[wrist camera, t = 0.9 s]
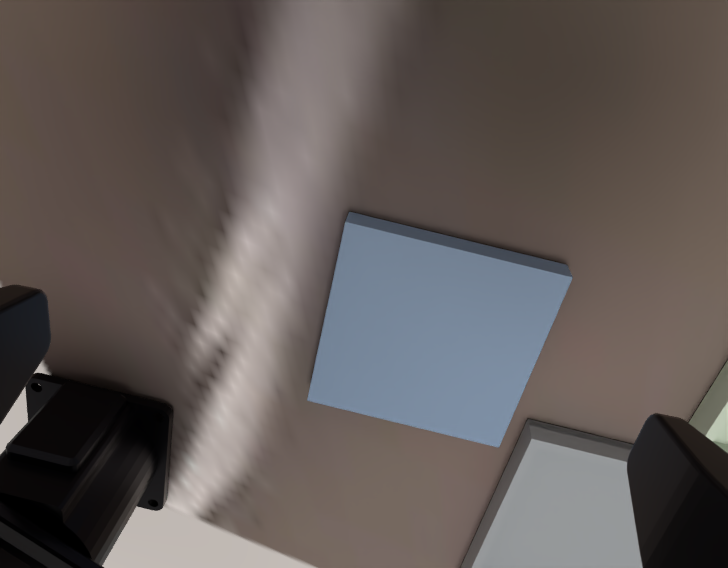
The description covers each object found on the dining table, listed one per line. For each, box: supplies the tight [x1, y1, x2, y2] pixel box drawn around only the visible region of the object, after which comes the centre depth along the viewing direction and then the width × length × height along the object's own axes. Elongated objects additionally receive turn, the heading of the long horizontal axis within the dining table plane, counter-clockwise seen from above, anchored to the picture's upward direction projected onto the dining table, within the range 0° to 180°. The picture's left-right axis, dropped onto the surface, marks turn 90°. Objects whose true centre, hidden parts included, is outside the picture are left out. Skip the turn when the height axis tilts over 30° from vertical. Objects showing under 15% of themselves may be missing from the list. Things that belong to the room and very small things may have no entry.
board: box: [307, 212, 573, 447], centre depth 23 cm, size 8×8×1 cm
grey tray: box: [461, 419, 643, 568], centre depth 26 cm, size 10×10×1 cm
